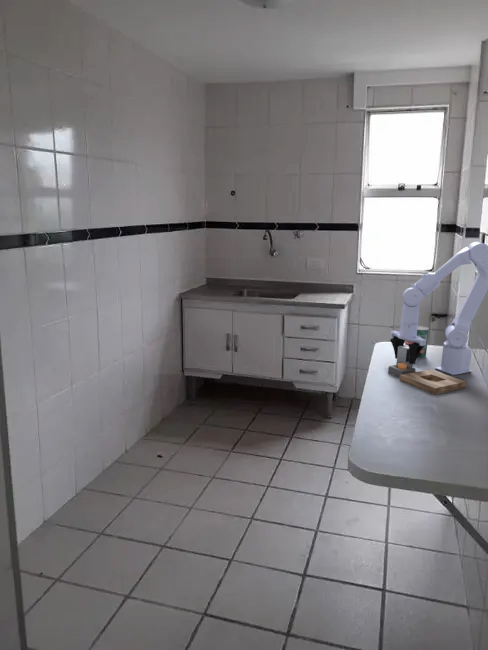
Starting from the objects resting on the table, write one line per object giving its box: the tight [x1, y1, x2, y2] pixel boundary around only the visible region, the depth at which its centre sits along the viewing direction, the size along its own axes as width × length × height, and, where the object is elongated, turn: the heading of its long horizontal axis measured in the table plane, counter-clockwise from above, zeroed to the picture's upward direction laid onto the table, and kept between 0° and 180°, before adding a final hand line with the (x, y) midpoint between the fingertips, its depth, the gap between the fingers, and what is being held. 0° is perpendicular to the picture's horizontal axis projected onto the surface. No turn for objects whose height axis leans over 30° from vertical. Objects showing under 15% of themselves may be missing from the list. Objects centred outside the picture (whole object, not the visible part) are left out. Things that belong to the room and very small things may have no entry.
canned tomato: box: [404, 324, 430, 360], centre depth 206 cm, size 8×8×11 cm
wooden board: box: [399, 369, 467, 395], centre depth 174 cm, size 14×14×2 cm
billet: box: [395, 344, 414, 368], centre depth 192 cm, size 4×4×7 cm
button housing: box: [387, 364, 416, 378], centre depth 183 cm, size 6×6×2 cm
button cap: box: [398, 363, 407, 369], centre depth 183 cm, size 3×3×2 cm
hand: (405, 360), depth 193 cm, fingers open, 6 cm apart
